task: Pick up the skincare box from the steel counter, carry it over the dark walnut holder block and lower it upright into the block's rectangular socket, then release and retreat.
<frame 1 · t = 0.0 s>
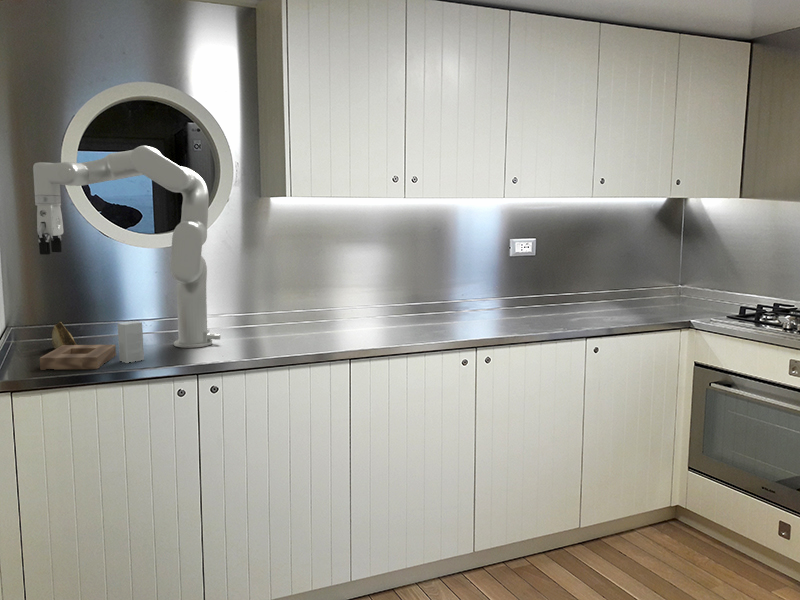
hand: (51, 253, 234), 31 cm above the countertop, fingers open, 9 cm apart
rock: (65, 350, 233), on the countertop
walnut holder: (79, 362, 215), on the countertop
skincare box: (131, 361, 218), on the countertop
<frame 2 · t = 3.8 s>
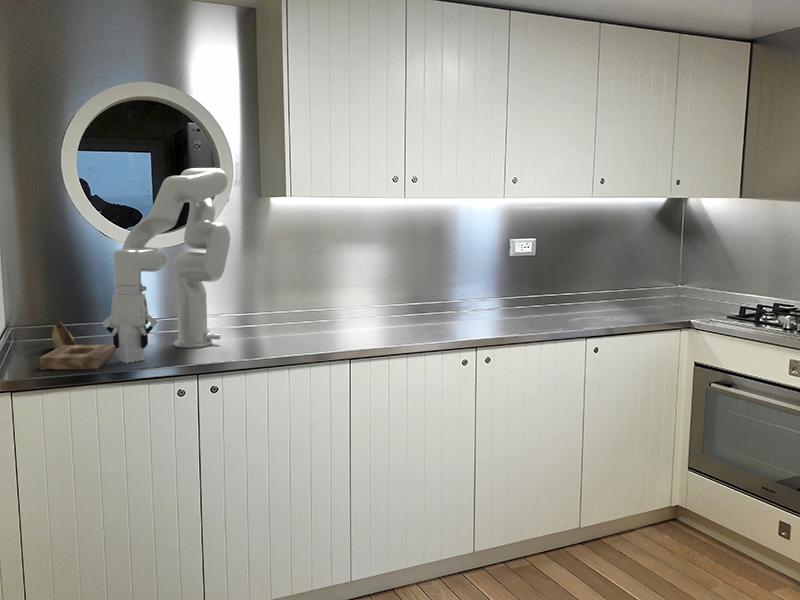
hand: (130, 347, 217), 4 cm above the countertop, fingers closed on skincare box, 7 cm apart
skincare box: (131, 361, 218), on the countertop, touching gripper
everything else where it was.
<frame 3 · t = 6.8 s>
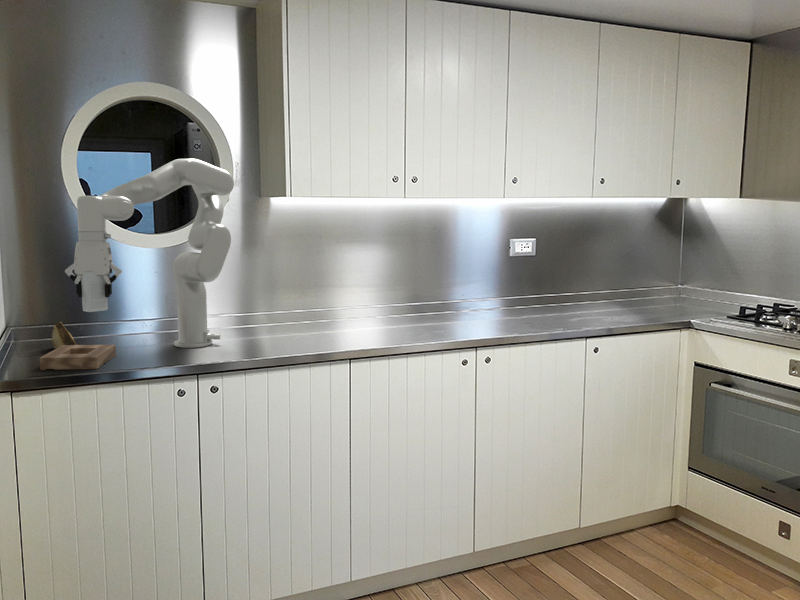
hand: (94, 296, 213), 20 cm above the countertop, fingers closed on skincare box, 7 cm apart
skincare box: (95, 311, 214), point 16 cm above the countertop, touching gripper
everything else where it was.
when the fingers open (6 cm above the countertop, at t = 9.6 s): skincare box moves 1 cm, resting on walnut holder.
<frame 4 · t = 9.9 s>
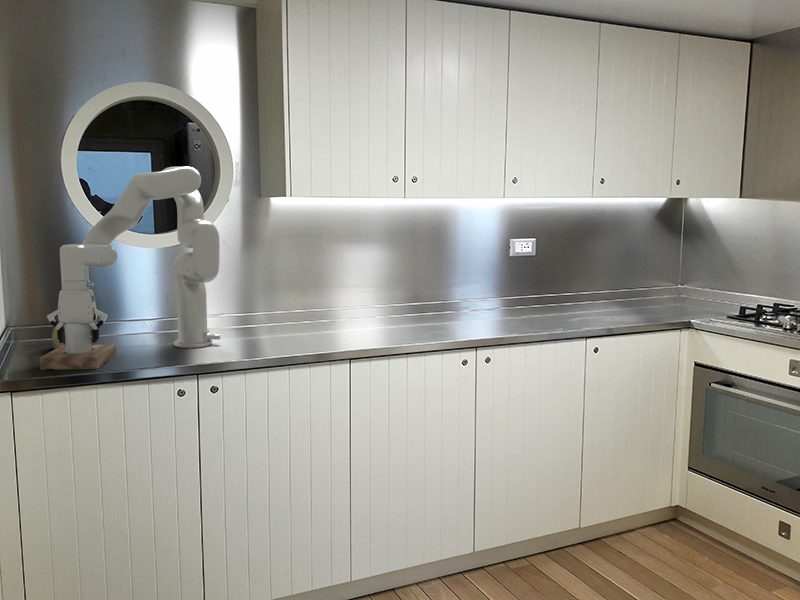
hand: (78, 342, 214), 6 cm above the countertop, fingers open, 9 cm apart
skincare box: (79, 361, 215), resting on walnut holder
everything else where it was.
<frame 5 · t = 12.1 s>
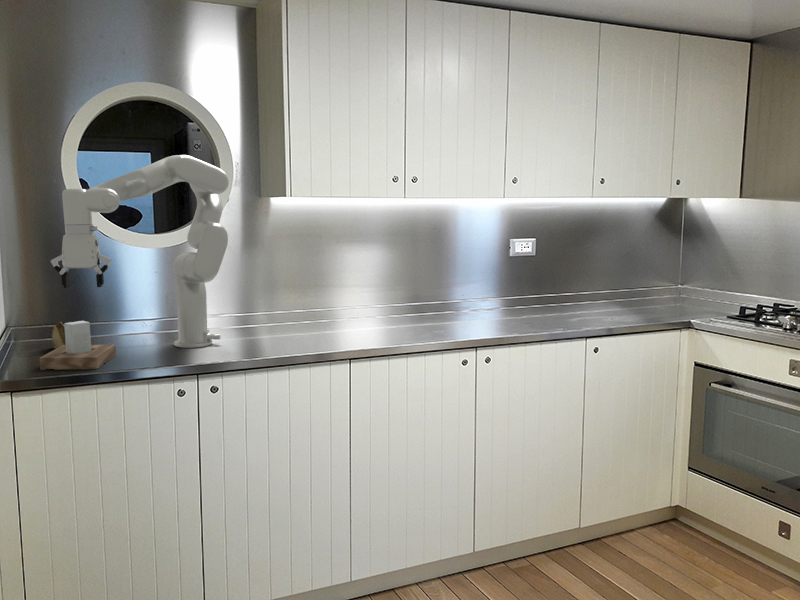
hand: (83, 287, 215), 23 cm above the countertop, fingers open, 9 cm apart
nothing on the countertop moved.
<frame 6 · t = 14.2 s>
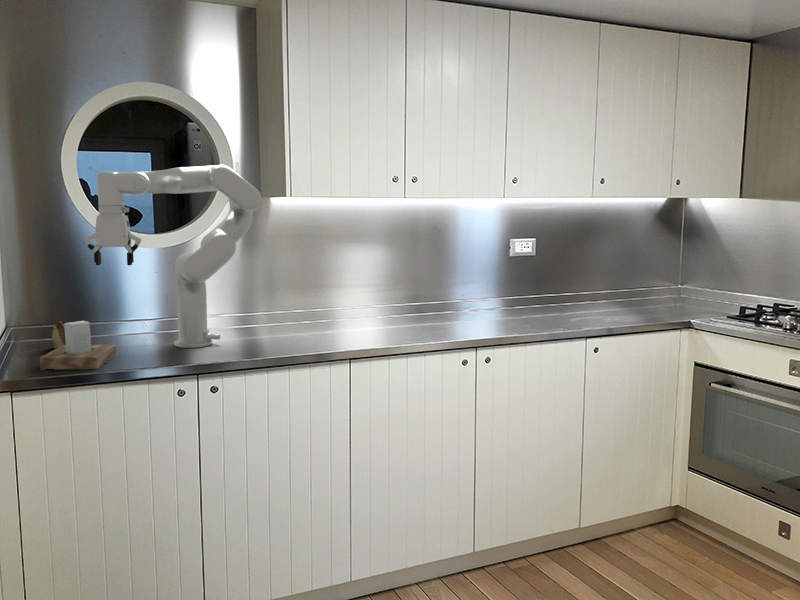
hand: (114, 264, 227), 28 cm above the countertop, fingers open, 9 cm apart
nothing on the countertop moved.
at the end: skincare box 0.2 cm off-centre on the walnut holder, point 0.1 cm above the walnut holder's base; skincare box tilted 0°; the gripper is holding nothing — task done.
